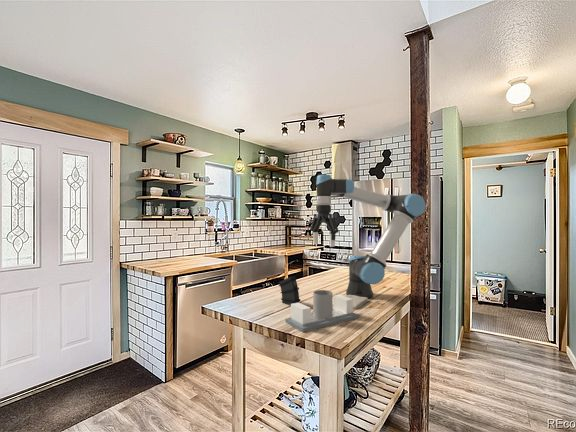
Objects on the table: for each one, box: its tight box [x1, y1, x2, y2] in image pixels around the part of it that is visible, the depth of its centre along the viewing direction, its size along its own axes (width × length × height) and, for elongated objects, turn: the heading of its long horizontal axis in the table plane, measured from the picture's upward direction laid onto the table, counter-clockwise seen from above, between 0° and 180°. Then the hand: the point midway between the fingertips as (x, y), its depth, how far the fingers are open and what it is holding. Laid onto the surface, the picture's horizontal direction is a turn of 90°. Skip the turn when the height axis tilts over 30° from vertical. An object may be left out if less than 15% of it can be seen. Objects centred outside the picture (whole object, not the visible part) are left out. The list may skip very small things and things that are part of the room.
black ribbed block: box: [278, 275, 301, 307], centre depth 156 cm, size 4×13×15 cm, turn 40°
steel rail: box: [290, 307, 354, 326], centre depth 133 cm, size 28×9×1 cm, turn 122°
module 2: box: [332, 294, 354, 314], centre depth 140 cm, size 4×9×6 cm, turn 32°
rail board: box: [285, 312, 360, 333], centre depth 133 cm, size 31×13×2 cm, turn 122°
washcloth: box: [344, 295, 369, 310], centre depth 158 cm, size 12×18×3 cm, turn 146°
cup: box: [312, 289, 333, 318], centre depth 133 cm, size 8×8×10 cm
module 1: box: [290, 302, 312, 324], centre depth 127 cm, size 4×9×6 cm, turn 32°
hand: (323, 245), depth 156 cm, fingers open, 13 cm apart
